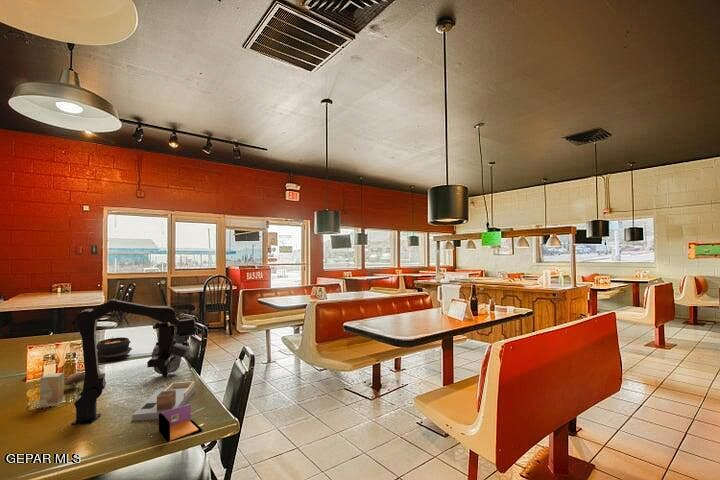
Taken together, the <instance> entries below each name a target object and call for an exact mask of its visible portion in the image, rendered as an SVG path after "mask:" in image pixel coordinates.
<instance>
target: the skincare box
mask: <svg viewBox="0 0 720 480" xmlns="http://www.w3.org/2000/svg"><path fill="white" fill-rule="evenodd" d="M39 379H40V381H39V382H40V383H39V404H38V406H39V408H47V407H48V408H49V406H51V407H58V406H59V405H61V404H62V403H64V394H65V393H64V392H65V390H64V388H65V384H64V382H65V372H59V373H58V372H57V373H56V372H55V373H45V374H44V375H43V376H41V377H40V378H39ZM60 403H61V404H60Z"/></svg>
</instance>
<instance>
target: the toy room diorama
mask: <svg viewBox="0 0 720 480" xmlns="http://www.w3.org/2000/svg"><path fill="white" fill-rule="evenodd" d="M173 416H175V417H176V418H175V419H174V418H172V417H173ZM191 417H192V404H191V403H188V404H184V405H183V406H180V407H177V408H174V409H171V410H167V411H164V412H161V413H160V414H159V419H158V432H159V433H160V435H161V436H162V437H163V438H164V440H166V442H172V441H176V440H179V439H181V438H184V437H187V436H188V437H189V436H193V435H197V434H199V433H202V432H203V429H202V427H200V426H199V425H198V424H197V423H196V422H195V421H194V420H192V418H191Z"/></svg>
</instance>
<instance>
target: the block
mask: <svg viewBox="0 0 720 480" xmlns="http://www.w3.org/2000/svg"><path fill="white" fill-rule="evenodd" d="M175 403H176V390H171V391H161V393H160V394H159V395H158V396H157V410H167V409H172V408H173V406H174V405H175Z"/></svg>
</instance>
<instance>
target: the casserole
mask: <svg viewBox="0 0 720 480" xmlns="http://www.w3.org/2000/svg"><path fill="white" fill-rule="evenodd" d="M130 344H131V340H130V339H129V337H111V338H106V339H103V340H100V341H98V342H96V346H97V357H98V358H99V357H100V358H106V359H107V358H108V359H109V358H116V357H120V356H125V355H128V354H129V353H130V352H131V351H132V350H133V347H131V346H130Z"/></svg>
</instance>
